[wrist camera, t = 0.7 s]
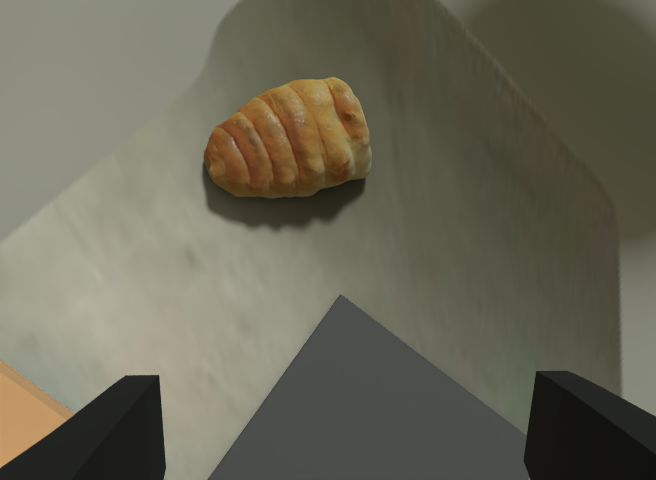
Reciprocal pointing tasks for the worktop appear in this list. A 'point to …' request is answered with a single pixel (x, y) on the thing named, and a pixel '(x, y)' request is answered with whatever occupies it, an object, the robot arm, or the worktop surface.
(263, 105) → the pastry
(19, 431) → the lid
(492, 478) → the mat
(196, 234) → the worktop surface
